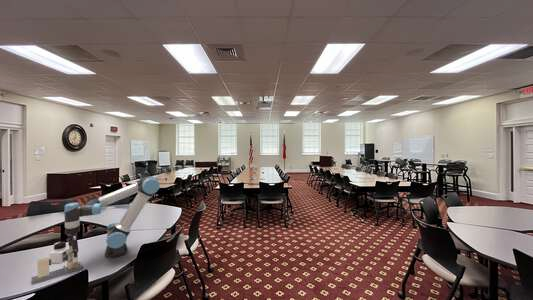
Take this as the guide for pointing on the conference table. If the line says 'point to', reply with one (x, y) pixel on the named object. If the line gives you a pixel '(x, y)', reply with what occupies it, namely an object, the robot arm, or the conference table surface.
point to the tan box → (70, 261)
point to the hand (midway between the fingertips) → (73, 258)
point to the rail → (46, 275)
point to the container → (59, 252)
